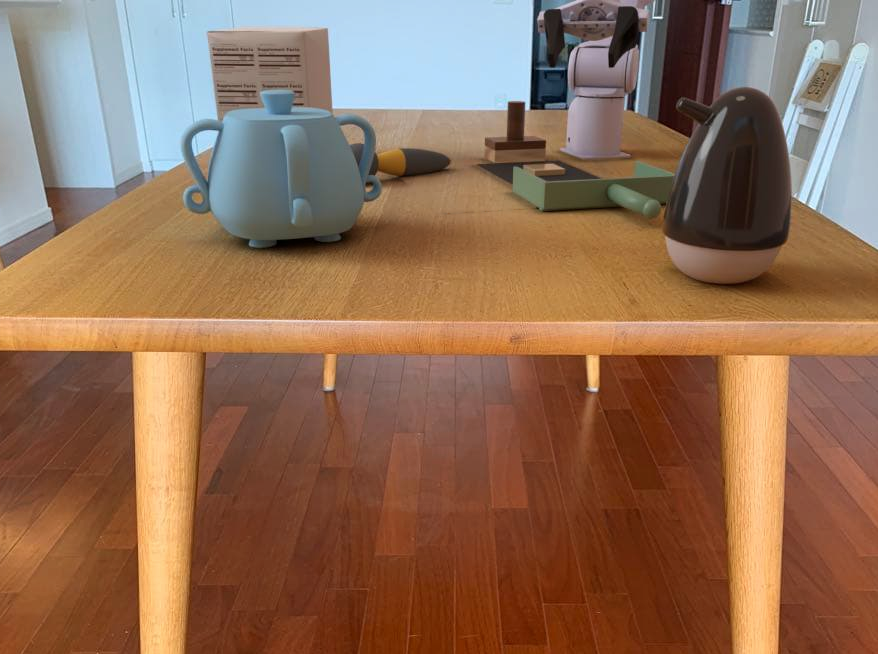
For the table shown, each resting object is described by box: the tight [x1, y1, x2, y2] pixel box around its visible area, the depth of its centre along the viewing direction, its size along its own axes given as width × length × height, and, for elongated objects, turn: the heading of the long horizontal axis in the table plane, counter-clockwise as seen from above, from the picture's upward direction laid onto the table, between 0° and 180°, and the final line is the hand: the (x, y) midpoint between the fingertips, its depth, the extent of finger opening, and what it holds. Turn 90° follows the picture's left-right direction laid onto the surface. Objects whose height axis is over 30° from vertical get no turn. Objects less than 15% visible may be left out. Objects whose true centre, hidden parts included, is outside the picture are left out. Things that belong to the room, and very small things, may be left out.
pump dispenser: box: [661, 86, 793, 285], centre depth 66 cm, size 10×10×15 cm
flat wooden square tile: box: [523, 164, 565, 176], centre depth 111 cm, size 4×4×1 cm
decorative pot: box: [180, 90, 383, 249], centre depth 79 cm, size 16×16×14 cm
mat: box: [476, 160, 602, 186], centre depth 112 cm, size 18×13×1 cm
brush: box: [484, 100, 547, 163], centre depth 120 cm, size 5×8×8 cm, turn 106°
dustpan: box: [512, 160, 675, 220], centre depth 93 cm, size 20×17×3 cm
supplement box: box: [206, 26, 334, 122], centre depth 116 cm, size 17×13×18 cm
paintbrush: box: [349, 142, 452, 177], centre depth 108 cm, size 20×5×5 cm, turn 134°
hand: (580, 60), depth 103 cm, fingers open, 7 cm apart
